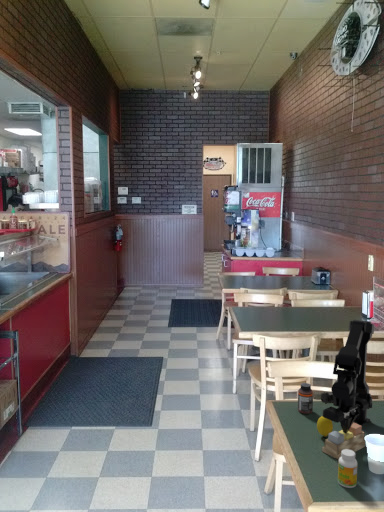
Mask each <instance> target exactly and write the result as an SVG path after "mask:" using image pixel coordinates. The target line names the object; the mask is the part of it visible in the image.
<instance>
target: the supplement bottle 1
mask: <svg viewBox="0 0 384 512" xmlns="http://www.w3.org/2000/svg"><path fill="white" fill-rule="evenodd" d="M313 408H314V391H313V389H312V386H311V384H310V383H307V382H301V383H300V388H299V389H298V390H297V412H299V413H300V414H305V415H307V414H308V415H309V414H312V413H313V410H314V409H313Z"/></svg>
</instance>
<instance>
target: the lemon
mask: <svg viewBox="0 0 384 512" xmlns="http://www.w3.org/2000/svg"><path fill="white" fill-rule="evenodd" d="M333 425H334V424H333V421H331V420H329V419H327V418H324V417H323V415H321V416H320V417H319V418H318V419H317V422H316V429H317V431H318V433H319V434H320V435H321V436H323V437H324V438H325V437H327V436H328V434H329V433H331V432H333V431H334V430H333V429H334V426H333Z"/></svg>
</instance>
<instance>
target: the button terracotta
mask: <svg viewBox="0 0 384 512" xmlns="http://www.w3.org/2000/svg"><path fill="white" fill-rule="evenodd" d="M362 427H363V425H359V424H357V423H355V422H353V424H352V426H351V427H350V429H349V432H352V433H353V435H355V436H356V435H358V434H360V433H361V431H363V430H362Z"/></svg>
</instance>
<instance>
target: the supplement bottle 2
mask: <svg viewBox="0 0 384 512" xmlns="http://www.w3.org/2000/svg"><path fill="white" fill-rule="evenodd" d="M337 467H338V468H337V483H338V484H339V486H341V487H344V488H348V489H352V488H355V487H356V486H357V482H358V480H357V478H358V461H357V459H356V452H354V451H352V450H349V449H344V450H342V451H341V457H340V458H339V460H338V466H337Z"/></svg>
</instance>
